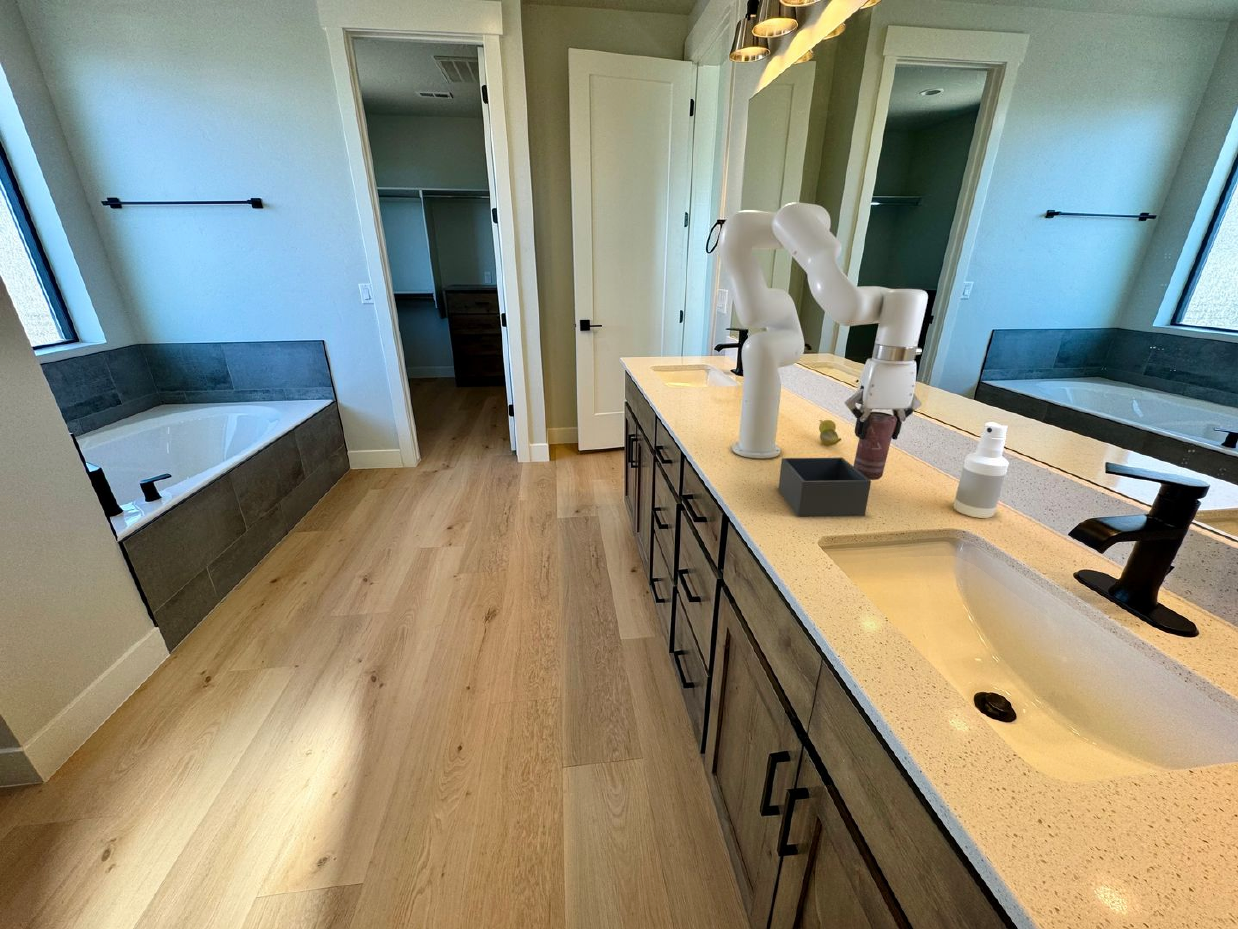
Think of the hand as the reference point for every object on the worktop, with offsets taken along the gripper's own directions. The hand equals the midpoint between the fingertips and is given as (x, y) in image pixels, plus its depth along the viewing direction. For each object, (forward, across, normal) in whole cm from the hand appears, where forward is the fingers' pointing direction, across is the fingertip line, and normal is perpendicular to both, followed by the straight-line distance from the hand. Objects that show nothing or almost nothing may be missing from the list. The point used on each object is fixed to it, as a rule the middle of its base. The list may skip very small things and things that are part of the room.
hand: (875, 436), depth 106 cm
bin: (+12, +13, +8) cm, 20 cm away
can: (+9, 0, 0) cm, 9 cm away
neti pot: (+13, -3, -29) cm, 32 cm away
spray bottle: (+11, -16, +13) cm, 23 cm away
